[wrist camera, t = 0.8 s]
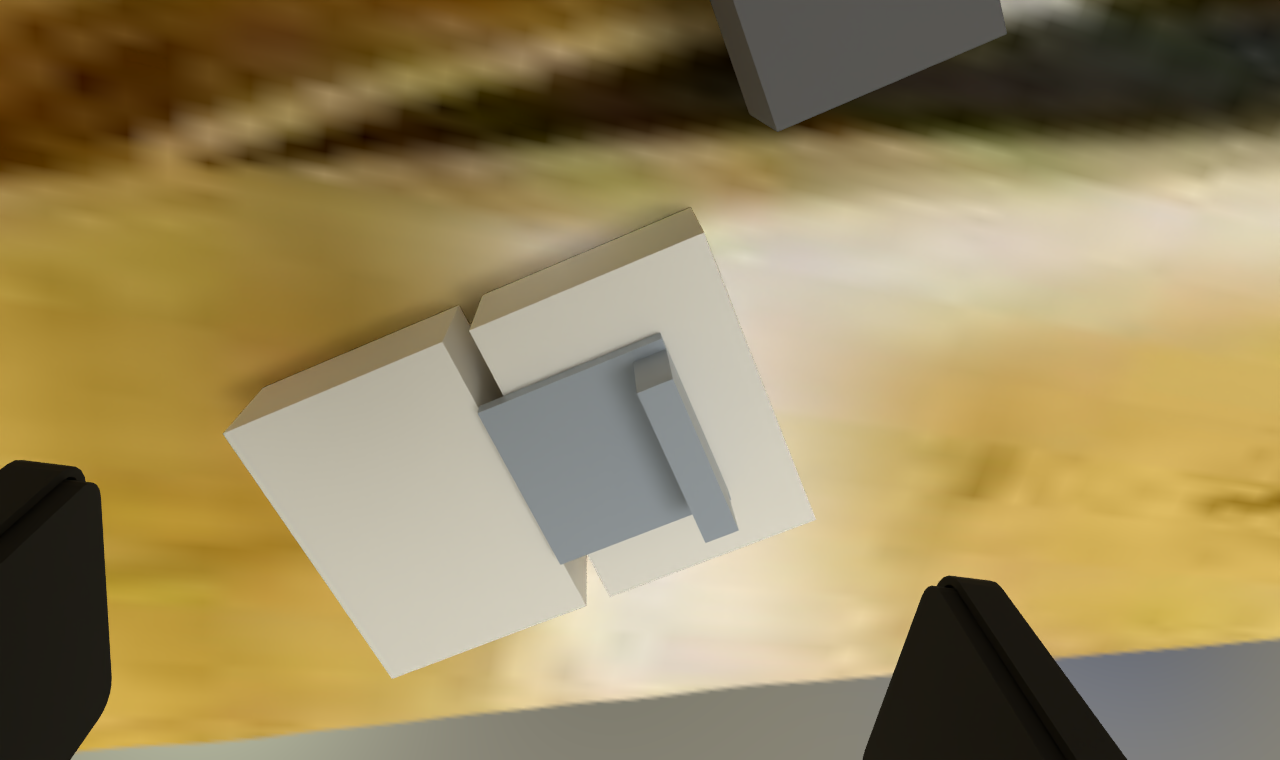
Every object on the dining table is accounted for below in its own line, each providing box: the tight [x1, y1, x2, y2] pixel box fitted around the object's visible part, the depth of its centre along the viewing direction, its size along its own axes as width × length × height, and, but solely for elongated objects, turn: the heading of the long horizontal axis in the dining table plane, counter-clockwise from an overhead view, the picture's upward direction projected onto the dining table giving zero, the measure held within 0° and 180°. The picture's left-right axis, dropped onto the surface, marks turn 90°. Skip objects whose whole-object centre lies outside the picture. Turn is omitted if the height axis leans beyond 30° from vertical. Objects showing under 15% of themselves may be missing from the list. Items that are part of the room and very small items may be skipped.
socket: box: [223, 207, 816, 679], centre depth 33 cm, size 18×12×4 cm, turn 112°
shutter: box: [478, 333, 739, 565], centre depth 29 cm, size 7×7×3 cm
